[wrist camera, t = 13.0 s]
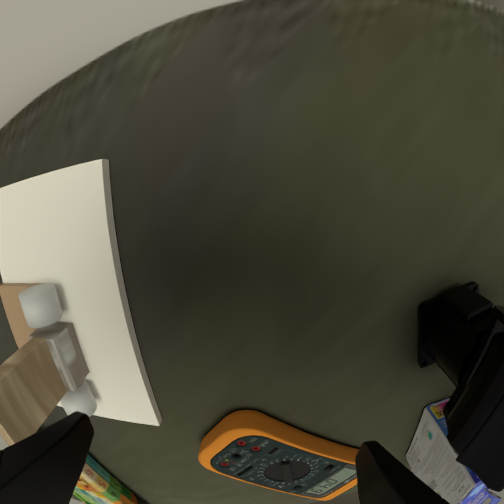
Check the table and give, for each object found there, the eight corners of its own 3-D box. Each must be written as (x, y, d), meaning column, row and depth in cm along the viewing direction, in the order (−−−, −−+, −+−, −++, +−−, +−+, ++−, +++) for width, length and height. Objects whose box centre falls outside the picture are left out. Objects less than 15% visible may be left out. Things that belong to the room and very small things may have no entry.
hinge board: (108, 159, 18) (73, 156, 13) (162, 418, 23) (150, 451, 19) (-5, 191, 18) (-37, 196, 14) (54, 398, 24) (36, 421, 19)
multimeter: (239, 395, 23) (236, 423, 19) (374, 448, 25) (382, 470, 21) (193, 440, 24) (188, 465, 21) (323, 483, 26) (327, 504, 23)
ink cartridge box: (439, 443, 25) (479, 520, 11) (403, 456, 25) (438, 542, 11) (463, 390, 22) (525, 475, 8) (423, 405, 23) (481, 506, 9)
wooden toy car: (74, 322, 20) (-9, 400, 9) (91, 372, 21) (29, 456, 10) (46, 320, 20) (-33, 387, 9) (64, 367, 21) (1, 441, 10)
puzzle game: (53, 448, 21) (149, 526, 25) (68, 424, 25) (155, 504, 30) (13, 442, 22) (98, 517, 26) (27, 424, 27) (105, 498, 31)
